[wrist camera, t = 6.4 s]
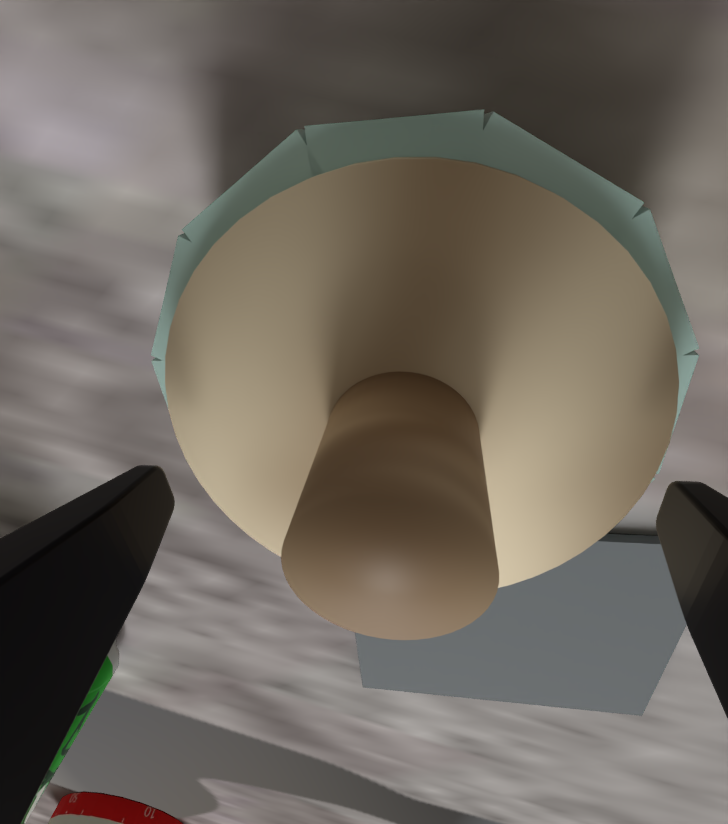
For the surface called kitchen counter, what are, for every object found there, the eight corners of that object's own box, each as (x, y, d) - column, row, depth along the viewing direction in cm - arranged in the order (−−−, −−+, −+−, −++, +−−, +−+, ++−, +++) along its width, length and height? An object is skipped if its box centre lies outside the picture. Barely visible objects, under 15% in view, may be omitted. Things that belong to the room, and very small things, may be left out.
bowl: (660, 98, 10) (792, 81, 6) (575, 485, 16) (617, 595, 12) (190, 140, 12) (76, 147, 8) (269, 476, 18) (224, 569, 14)
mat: (718, 538, 17) (724, 547, 16) (638, 707, 23) (641, 715, 22) (342, 521, 19) (340, 528, 18) (363, 679, 25) (362, 687, 25)
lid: (741, 128, 7) (1087, 129, 3) (603, 583, 12) (673, 774, 9) (114, 179, 8) (-128, 218, 5) (238, 561, 14) (168, 714, 10)
